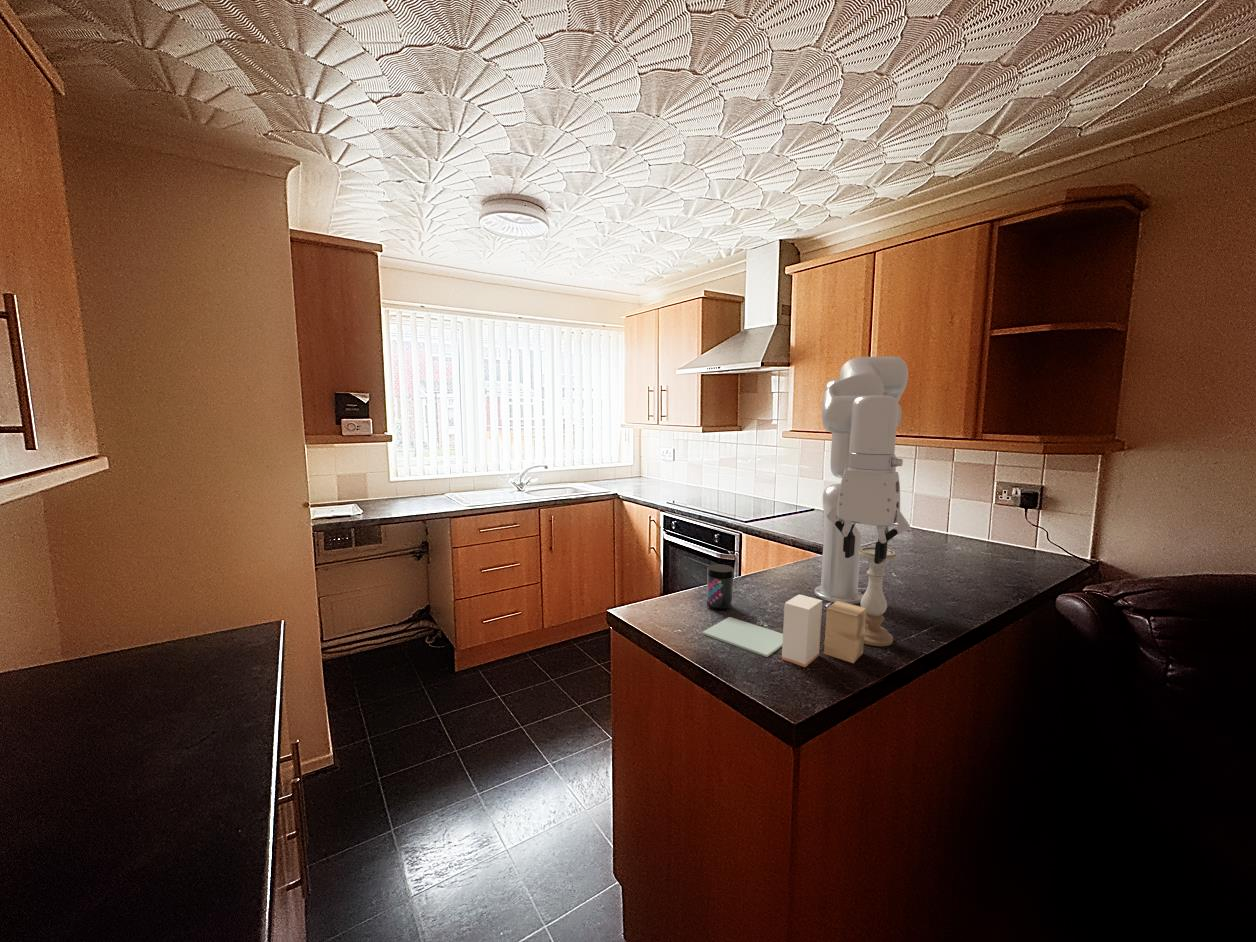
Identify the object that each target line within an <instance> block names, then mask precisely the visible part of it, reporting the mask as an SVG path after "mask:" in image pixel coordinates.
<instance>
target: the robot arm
mask: <svg viewBox="0 0 1256 942" xmlns="http://www.w3.org/2000/svg"><path fill="white" fill-rule="evenodd" d="M908 380H909V370H908V366H907V363H906V362H905V360H903V358H901V357H898V356H860V357H854V358H851V359H848V360H847V361H846V362H844V364H843V365H842V366H841V369H840V371H839V378H836V379H832V380H829V381H828V382H827V383H826V385H825V388H824V394H823V397H822V401H821V422H822V425H823V428H824V429H825V430H826V431H827V432H829V433H831V447H830V471H831V474H832V475H833V476H834V477H835V478H838V479H841V481H840V483H834V484H830V485H828V486H827V487H826V488H825V489H824V491H823V493H822V507H823V518H824V519H823V521H824V522H823V523H824V524H823V525H824V526H823V546H822V560H821V561H822V562H821V563H822V564H821V577H820V585H818V586H816V587H815V588H814V594H815V595H816V596H817V597H818V599H819V598H820V600H824V601H826V602H831V603H835V602H836V601H840V602H844V603H848V604H852V605H857V604H860V602H861V599H862V596H863V595H864V593H862V592H860V591H859V578H860V564H861V555H860V554H859V549H860V548H862V535H861V532H860V530H859V529H858V528H857V527H856V524H862V525H867V526H874V527H876V532H877V537H878V538H877V542H875V544H874V545H875V546H874V547H875V558H874V563H875V564H880V563H881V562H882V561H883V559H884V560H885V559H886V555H887V549H888V542H889V541H891V540H892V539H893V538H894V537H896V536H897V535H899V534H902V533H904V532H906V531H907V530H910V528H911V525H910V524H909V522H908V521H907V519H906V518H905V517H904V515H903V513H902V512H901V486H900V485H901V483H900V475H899V472H898V471H896V470H897V469H896V468H897V467H903V464H904V463H903V462H904V460H903V458H898V457H897V456H896V454H895V450H896V438H897V437H896V436H897V428H898V427H899V426H900V424H901V421H902V417H903V416H902V407H901V405H900V404H899V402H900V399H901V397H902V395H903V393H904V392H905V389H906V388H907V384H908ZM893 524H897V526H895V527H893V528H892V529H889V527H891V526H893Z"/></svg>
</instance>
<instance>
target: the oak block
mask: <svg viewBox="0 0 1256 942" xmlns="http://www.w3.org/2000/svg"><path fill="white" fill-rule="evenodd" d="M825 615H826V616H825V631H824V647H823V654H824V655H826V656H829V657H833V658H836V659H839V660H842V661H845V662H849V663H851V664H854V663H855V662H856V661H857V660H858V659H859V658H860V657H861V656H862V655H863V654H864V645H865V644H864V631H865V617H866V608H864V607H861V605H860V606H859V605H857V604H848V603H844V602H840V601H836V602H835V603H834V602H832V604H831V605H829V606H828V607H826V614H825Z"/></svg>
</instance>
